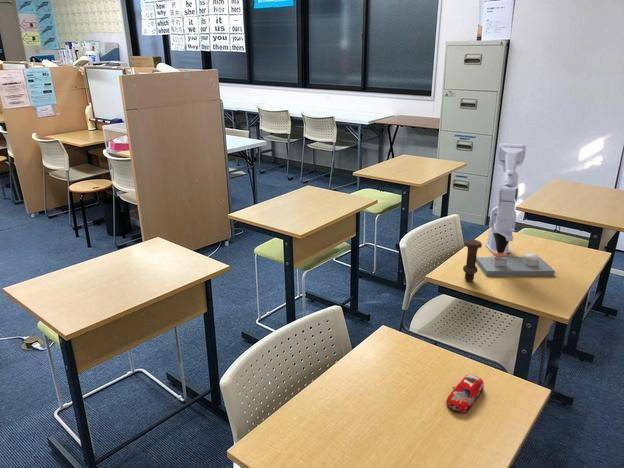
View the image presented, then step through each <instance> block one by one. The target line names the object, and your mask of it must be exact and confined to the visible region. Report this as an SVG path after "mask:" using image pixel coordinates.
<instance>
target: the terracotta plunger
mask: <svg viewBox="0 0 624 468" xmlns="http://www.w3.org/2000/svg"><path fill="white" fill-rule="evenodd" d="M507 254H508V253H507V252H506V251H504V252H503V253H498V252H497V250H494V251H493V253H492V255H493V256H496V260H502V259H503V257H507Z"/></svg>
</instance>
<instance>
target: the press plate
mask: <svg viewBox="0 0 624 468" xmlns="http://www.w3.org/2000/svg"><path fill="white" fill-rule="evenodd" d="M476 265H478V267H479V268H480V270H481V271H482V272H483V274H484V275H485V276H486V277H520V276H521V277H532V276H533V277H537V276H538V277H543V276H544V277H546V276H547V277H548V276H550V277H551V276H553V277H554V276H555V269H553V268H552V267H551V265H549V264H548V263H547V262H546V261H545V259H543V258H541V257H540V256H538V260H535V261H531V260H527V259H525V258H524V255H523V256H506V257H503V259H502V260H496V256H494V255H493V256H484V257H483V256H476Z"/></svg>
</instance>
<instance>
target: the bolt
mask: <svg viewBox="0 0 624 468" xmlns="http://www.w3.org/2000/svg"><path fill="white" fill-rule="evenodd" d="M464 246H465V247H466V248H467V255H466V262H465V263H466V264H464V265H463V267H462V270H463V272H464V280H465V281H466V282H473V281H474V279H475V274H477V273H478V269H479V268H478V267H477V263H476V257H478V256H477V254H478V251H479V250H478V249H480V248H482V246H483V245H482V242H481V241H479V240H477V239H467V240H466V241H464Z"/></svg>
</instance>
